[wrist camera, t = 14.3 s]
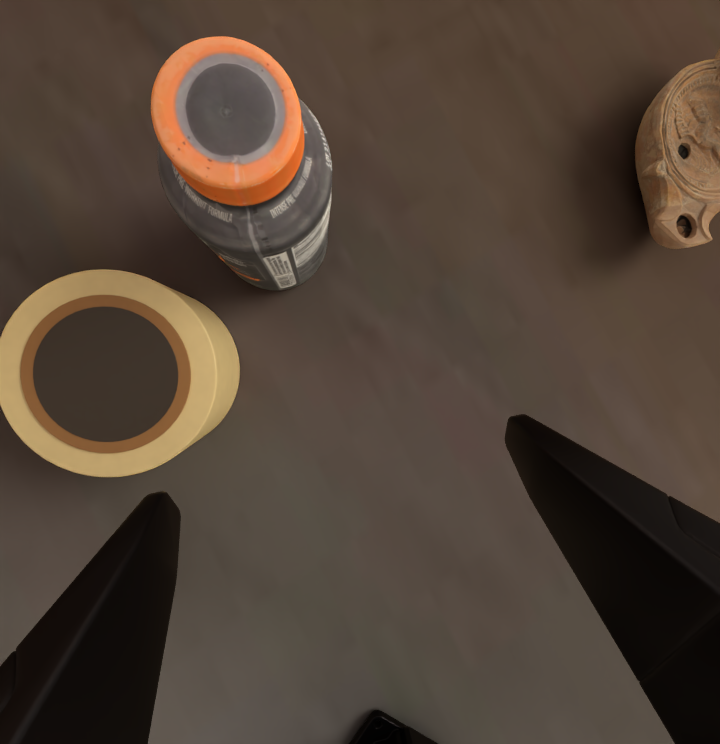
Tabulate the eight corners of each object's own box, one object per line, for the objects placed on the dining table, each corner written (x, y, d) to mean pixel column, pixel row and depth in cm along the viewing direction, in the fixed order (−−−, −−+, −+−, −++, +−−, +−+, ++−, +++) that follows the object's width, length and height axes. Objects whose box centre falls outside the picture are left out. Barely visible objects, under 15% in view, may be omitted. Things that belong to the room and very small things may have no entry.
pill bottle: (200, 220, 20) (56, 54, 9) (291, 167, 21) (259, -53, 10) (259, 312, 21) (191, 261, 10) (347, 259, 21) (378, 152, 10)
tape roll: (178, 480, 21) (136, 518, 16) (35, 389, 20) (-57, 400, 15) (271, 352, 21) (257, 351, 16) (135, 256, 20) (76, 224, 15)
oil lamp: (680, 276, 24) (774, 254, 19) (581, 230, 23) (652, 195, 18) (751, 87, 24) (864, 16, 19) (655, 34, 23) (747, -55, 18)
